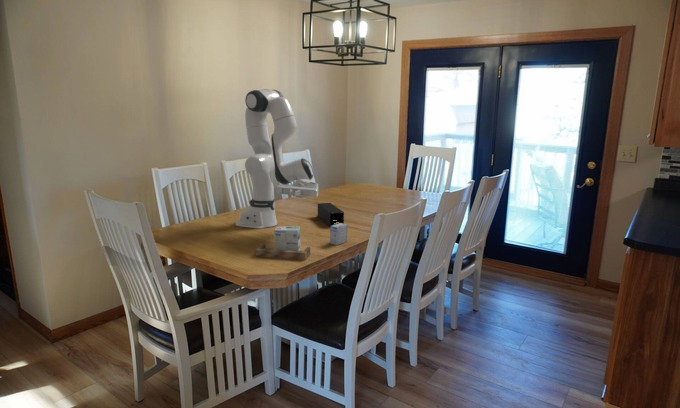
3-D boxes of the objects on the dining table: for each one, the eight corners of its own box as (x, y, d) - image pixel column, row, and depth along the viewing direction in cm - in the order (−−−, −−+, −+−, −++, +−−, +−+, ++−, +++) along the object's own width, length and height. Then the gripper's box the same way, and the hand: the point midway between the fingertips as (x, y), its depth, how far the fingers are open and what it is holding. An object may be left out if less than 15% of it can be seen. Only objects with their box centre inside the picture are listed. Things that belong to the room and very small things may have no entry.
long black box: (330, 213, 234) (316, 202, 260) (330, 227, 236) (316, 215, 262) (344, 212, 237) (328, 201, 263) (344, 226, 239) (328, 214, 264)
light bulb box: (300, 248, 200) (300, 225, 197) (298, 253, 193) (298, 230, 191) (277, 248, 200) (276, 225, 198) (274, 253, 193) (273, 229, 191)
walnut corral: (256, 256, 189) (255, 249, 188) (262, 250, 197) (262, 244, 196) (305, 259, 185) (305, 253, 184) (310, 253, 193) (310, 247, 192)
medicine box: (340, 239, 214) (340, 222, 212) (347, 241, 211) (347, 224, 209) (329, 243, 208) (329, 225, 206) (337, 245, 205) (337, 227, 203)
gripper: (280, 180, 216) (271, 185, 202) (321, 183, 212) (314, 189, 199) (280, 192, 217) (271, 198, 204) (320, 196, 214) (313, 202, 200)
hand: (292, 193), depth 201 cm, fingers closed
